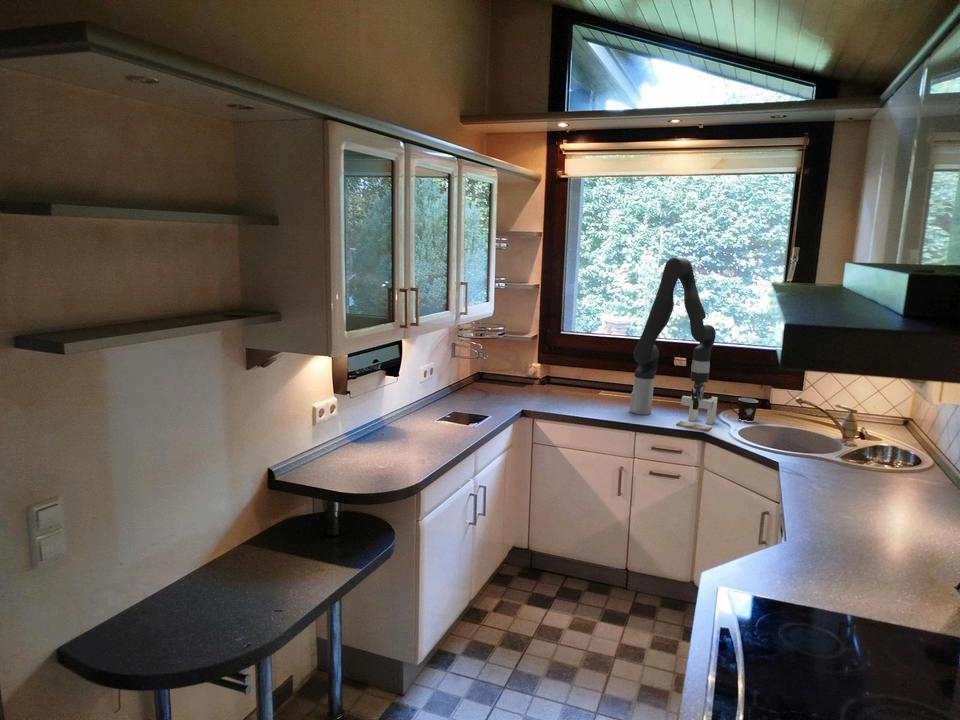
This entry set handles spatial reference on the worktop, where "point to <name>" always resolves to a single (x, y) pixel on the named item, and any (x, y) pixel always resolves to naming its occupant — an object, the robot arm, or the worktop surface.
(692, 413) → the post
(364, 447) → the worktop surface
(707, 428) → the board
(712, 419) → the post
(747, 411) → the coffee mug
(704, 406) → the rail
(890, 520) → the worktop surface
